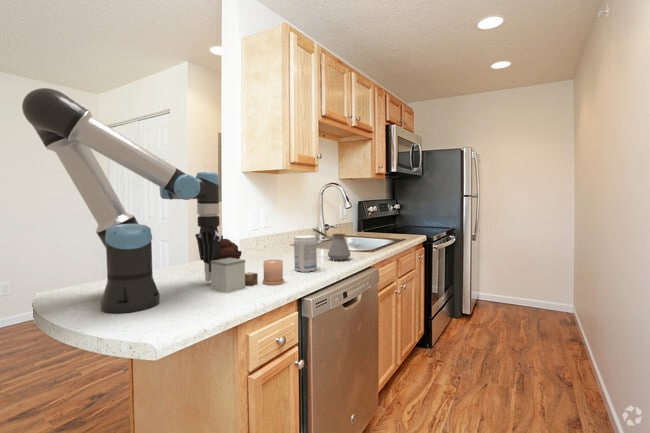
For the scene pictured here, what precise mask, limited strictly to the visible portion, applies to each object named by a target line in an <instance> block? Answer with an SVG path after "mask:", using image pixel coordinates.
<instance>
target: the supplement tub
mask: <svg viewBox="0 0 650 433" xmlns="http://www.w3.org/2000/svg"><path fill="white" fill-rule="evenodd" d="M293 251H294V252H293V253H294V255H293V257H294V258H293V259H294V260H293V261H294V270H295V271H296V272H299V271H300V272H301V273H307V272H308V273H310V271H312V272H315V271H316V270H317V268H318V265H317V264H318V260H317V238H316V235H311V234H310V235H309V234H307V235H306V234H305V235H302V234H301V235H295V236H294V237H293Z"/></svg>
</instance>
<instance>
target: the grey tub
mask: <svg viewBox="0 0 650 433" xmlns="http://www.w3.org/2000/svg"><path fill="white" fill-rule="evenodd" d="M210 263H211V281H210V284H211V285H210V286H211V287H210V288H211V290H214V291H218V292H221V293H226V294H228V293H231V292H234V291H239V290H241V289H245V288H246V286H245V272H246V268H245V267H246V264H245V263H246V259H240V258H239V259H235V258H225V259H219V260H213V261H210Z"/></svg>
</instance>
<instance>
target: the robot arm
mask: <svg viewBox="0 0 650 433" xmlns="http://www.w3.org/2000/svg"><path fill="white" fill-rule="evenodd" d="M21 107H22V113H23V114H22V115H24V117H25V119H26V120H27V122H28V123H30V125H31V126H32V127H33V128H34V130H35V132H36V134H37V136H38V138H39V139H40V141H41V142H42V144H43V145H44V147H45V149H46V150H49V151H52V152H54V153H55V154H56V155H57V157H58V159H59V161H60V162H61V164H62V166H63V167H64V169H65V171H66V173H67V174H68V176H69V178H70V179H71V181H72V183H73V185H74V187H75V188H76V189H77V192H78V193H79V195H80V196H81V198H82V199H83V201H84V203H85V205H86V206H87V208H88V210H89V211H90V214H91V215H92V217H93V218H94V220H95V221H96V224H97V227H96V229H95V232H96V234H97V236H98V238H99V240H100V241H101V243H102V244H103V246H104V248H105V250H106V251H105V253H106V276H107V277H106V278H107V281H106V285H105V288H104V292H103V294H102V297H101V301H100V310H101V311H102V312H105V313H111V314H112V313H113V314H115V313H116V314H119V313H132V312H138V311H142V310H147V309H150V308H152V307H155V306H157V305H159V303H160V302H161V300H160V296H161V295H160V292H159V290H158V287H157V285H156V282H155V279H154V277H153V276H154V275H153V248H152V247H153V246H152V241H153V234H152V229H151V228H150V226H148V225H146V224H140V223H139V222H138V220H137V218H136V217H135V215H134V214H131V213H128V212H127V211H126V209H125V207H124V205H123V204H122V203H121V201H120V199H119V196H118V195H117V193H116V191H115V189H114V187H113V186H112V185H111V183H110V180H109V179H108V177H107V176H106V174H105V171H104V170H103V169H102V166H101V165H100V163H99V161H98V159H97V157H96V156H95V154H94V152H93V151H95V152H96V153H98V154H100V155H102V156H104V157H106V158H107V159H109V160H111V161H113V162H114V163H116V164H118V165H120V166H122V167H123V168H126V169H128V170H129V171H131V172H133V173H134V174H136V175H138V176H139V177H142V178H144V179H145V180H147V181H148V182H151V183H152V184H154V185H155V186H157V187H158V188H159V196H160V198H161V199H163V200H184V201H190V200H196V207H197V208H196V210H197V211H196V214H197V215H198V217H197V226H198V227H199V232H198V233H195V235H194V236H195V239H196V241H197V246H198V254H199V260H200V261H202V262H203V263H204V272H205V273H204V274H205V275H204V276H205V281H206V282H211V263H210V261H213V260H219V255H220V248H221V241H222V239H224V235H220V233H219V230H218V227H220V216H219V214H220V181H219V175H218V173H217V172H211V171H207V172H206V171H200V172H199V171H198V172H197V173H196V177H195V176H194V175H192V174H189V173H188V174H187V173H186V172H184V171H182V170H180V169H179V168H177V167H176V166H174V165H172V164H170V163H168V162H167V161H166V160H164V159H162V158H160V157H159V156H158V155H156V154H154V153H152V152H150V151H149V150H148V149H146V148H144V147H142V146H141V145H139V144H138V143H136V142H134V141H132V140H131V139H129V138H127V137H126V136H124V135H123V134H121V133H119V132H117V131H116V130H114V129H112V128H111V127H110V126H108V125H106V124H104V123H103V122H101V121H100V120H98V119H97V118H95V117H93V115H92V113H91V111H90V110H88V109H87V108H86V107H83V105H81V104H79V103H78V102H76V101H75V100H73V99H72V98H70V97H69V96H68V95H66V94H64V93H63V92H61V91H59V90H57V89H53V88H47V87H40V88H36V89H33V90H31V91H30V92H28V93H27V94H26V96H24V98H23V100H22V105H21Z"/></svg>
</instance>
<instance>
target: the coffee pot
mask: <svg viewBox="0 0 650 433" xmlns="http://www.w3.org/2000/svg"><path fill="white" fill-rule="evenodd" d="M314 232H315V233H318V234H319V235H322V236H323V237H326V238H327V239H330V240H331V241H332V242H331V245H330V246H329V247H330V248H329V250H328V252H327V256H328V258H330V259H334V260H345V259H347V260H348V259H349V258H350V257H351V251H350V249H349V247H348V244H347V241H346V239H345V236H346V233H332V235H333V237H331V236H330V235H329V236H328V235H327V234H326V233H324V232H322V231H320V230H318V229H315V228H313V229H312V233H314ZM334 260H333V261H334ZM345 261H346V260H345Z"/></svg>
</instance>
